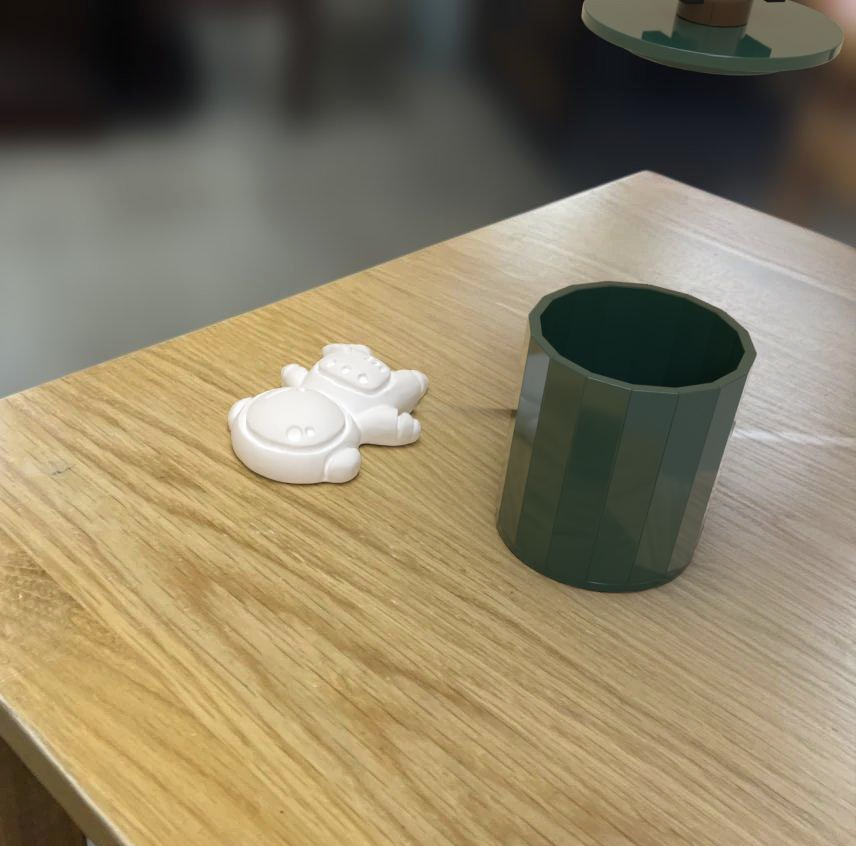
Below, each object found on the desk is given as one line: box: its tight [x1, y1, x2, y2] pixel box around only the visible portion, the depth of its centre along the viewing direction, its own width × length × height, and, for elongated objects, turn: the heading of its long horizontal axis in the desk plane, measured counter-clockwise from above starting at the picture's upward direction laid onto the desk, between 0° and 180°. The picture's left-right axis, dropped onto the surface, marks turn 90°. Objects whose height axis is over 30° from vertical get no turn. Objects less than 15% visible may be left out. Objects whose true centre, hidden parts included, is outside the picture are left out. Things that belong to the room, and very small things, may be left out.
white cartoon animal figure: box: [227, 342, 430, 484], centre depth 63 cm, size 9×12×3 cm
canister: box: [495, 280, 758, 593], centre depth 55 cm, size 9×9×10 cm
